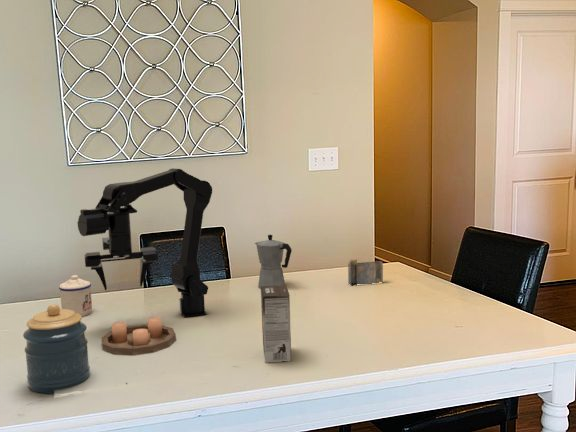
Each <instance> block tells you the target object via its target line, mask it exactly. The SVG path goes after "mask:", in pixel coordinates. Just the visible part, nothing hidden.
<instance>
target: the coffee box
mask: <svg viewBox="0 0 576 432" xmlns="http://www.w3.org/2000/svg"><path fill="white" fill-rule="evenodd" d="M290 297H291V296H290V293H289V290H288V286H287V285H286V284H285V285H284V286H261V289H260V300H261V301H260V302H261V303H260V304H261V307H260V308H261V329H262V330H261V333H262V344H263V345H262V346H263V355H264V356H263V357H264V363H266V364H267V363H268V364H269V362H270V363H283V362H282V361H288V362H291V361H292V341H291V340H292V337H291V334H292V333H291V331H292V330H291V302H290V301H291V299H290Z"/></svg>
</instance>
